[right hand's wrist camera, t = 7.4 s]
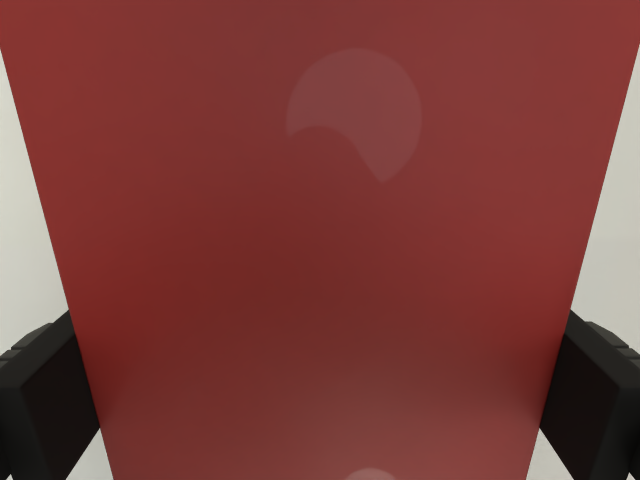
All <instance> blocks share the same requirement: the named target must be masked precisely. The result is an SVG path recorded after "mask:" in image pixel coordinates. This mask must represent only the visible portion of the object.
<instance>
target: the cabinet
mask: <svg viewBox="0 0 640 480" xmlns="http://www.w3.org/2000/svg"><path fill="white" fill-rule="evenodd" d="M639 44H640V0H0V49H1V53H2V57H3V61H4V64H5V68H6V72H7V76H8V80H9V83H10V87H11V91H12V95H13V99H14V102H15V106H16V110H17V114H18V118H19V121H20V125H21V129H22V133H23V137H24V140H25V144H26V148H27V152H28V156H29V159H30V163H31V167H32V171H33V175H34V178H35V182H36V186H37V190H38V194H39V198H40V201H41V205H42V209H43V213H44V217H45V220H46V224H47V228H48V232H49V236H50V239H51V243H52V247H53V251H54V255H55V258H56V262H57V266H58V270H59V274H60V277H61V281H62V285H63V289H64V293H65V296H66V300H67V304H68V308H69V312H70V315H71V319H72V323H73V327H74V331H75V334H76V338H77V342H78V346H79V350H80V353H81V357H82V361H83V365H84V369H85V372H86V376H87V380H88V384H89V388H90V392H91V395H92V399H93V403H94V407H95V411H96V414H97V418H98V422H99V426H100V430H101V433H102V437H103V441H104V445H105V449H106V452H107V456H108V460H109V464H110V468H111V471H112V475H113V479H114V480H526V477H527V473H528V469H529V465H530V461H531V458H532V454H533V450H534V446H535V442H536V438H537V435H538V431H539V427H540V423H541V419H542V415H543V412H544V408H545V404H546V400H547V396H548V392H549V389H550V385H551V381H552V377H553V373H554V370H555V366H556V362H557V358H558V354H559V350H560V347H561V343H562V339H563V335H564V331H565V327H566V324H567V320H568V316H569V312H570V308H571V304H572V301H573V297H574V293H575V289H576V285H577V282H578V278H579V274H580V270H581V266H582V262H583V259H584V255H585V251H586V247H587V243H588V239H589V236H590V232H591V228H592V224H593V220H594V216H595V213H596V209H597V205H598V201H599V197H600V194H601V190H602V186H603V182H604V178H605V174H606V171H607V167H608V163H609V159H610V155H611V151H612V148H613V144H614V140H615V136H616V132H617V128H618V125H619V121H620V117H621V113H622V109H623V105H624V102H625V98H626V94H627V90H628V86H629V83H630V79H631V75H632V71H633V67H634V63H635V60H636V56H637V52H638V48H639Z"/></svg>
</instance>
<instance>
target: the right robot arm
mask: <svg viewBox="0 0 640 480" xmlns="http://www.w3.org/2000/svg"><path fill="white" fill-rule="evenodd" d="M99 428H100V426H99V422H98V418H97V414H96V411H95V407H94V403H93V399H92V395H91V392H90V388H89V384H88V380H87V376H86V372H85V369H84V365H83V361H82V357H81V353H80V350H79V346H78V342H77V338H76V334H75V331H74V327H73V323H72V319H71V315H70V312H69V310H68V311H67V312H65V313H64V314H63V315H62V316H61V317H60V318H58V319H57V320H56V321H55V322H54V323H48V324H46V325H44V326H42V327H40V328H38V329H36V330H34V331H32V332H30V333H29V334H27V335H26V336H24V337H23V338H22V339H21V340H19V341H18V342H17V343H16V344H15V345H13V346H12V347H11V350H7V351H6V352H5V353H4V354H2V355H1V356H0V480H6V479H7V478H8V477H9V475H10V474H11V476H12V478H13V480H66V478H67V477H68V475H69V474H70V472H71V471H72V469H73V468H74V466H75V465H76V463H77V462H78V460H79V459H80V457H81V456H82V454H83V453H84V451H85V450H86V448H87V447H88V445H89V444H90V442H91V441H92V439H93V437H94V436H95V434H96V433H97V431H98V430H99ZM539 428H540V429H541V431H542V432H543V434H544V435H545V437H546V438H547V440H548V441H549V443H550V444H551V446H552V447H553V449H554V450H555V452H556V453H557V455H558V456H559V458H560V459H561V461H562V462H563V464H564V465H565V467H566V468H567V470H568V471H569V473H570V474H571V476H572V477H573V479H574V480H626V479H627V477H628V474H629V472H630V474H631V475H632V476H633V477H634V479H635V480H640V354H638V353H637V352H636V351H635V350H633V349H632V348H629V346H628V345H627V344H626V343H625V342H623V341H622V340H621V339H620V338H619V337H617V336H616V335H615V334H614V333H612V332H610V331H608V330H606V329H605V328H603V327H601V326H599V325H597V324H595V323H593V322H585V321H583V320H582V319H581V318H580V317H579V316H578V315H576V314H575V313H574V312H573V311H572V310H571V309H570V312H569V316H568V320H567V324H566V327H565V331H564V335H563V339H562V343H561V347H560V350H559V354H558V358H557V362H556V366H555V370H554V373H553V377H552V381H551V385H550V389H549V392H548V396H547V400H546V404H545V408H544V412H543V415H542V419H541V423H540V427H539Z"/></svg>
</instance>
